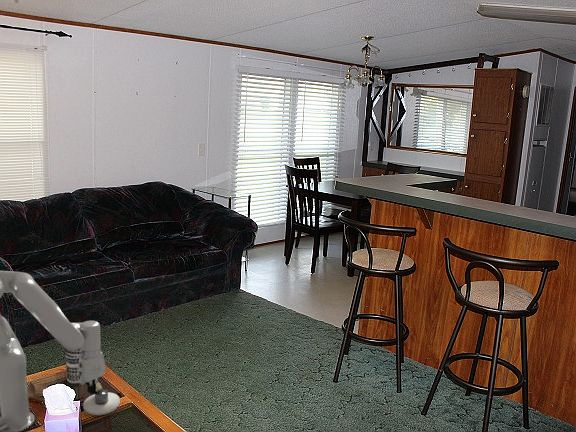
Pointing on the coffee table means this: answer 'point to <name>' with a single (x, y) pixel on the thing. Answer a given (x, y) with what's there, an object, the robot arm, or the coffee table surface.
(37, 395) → the sunglasses case
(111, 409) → the white plate
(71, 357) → the grey tall cylinder
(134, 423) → the coffee table surface
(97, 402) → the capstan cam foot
